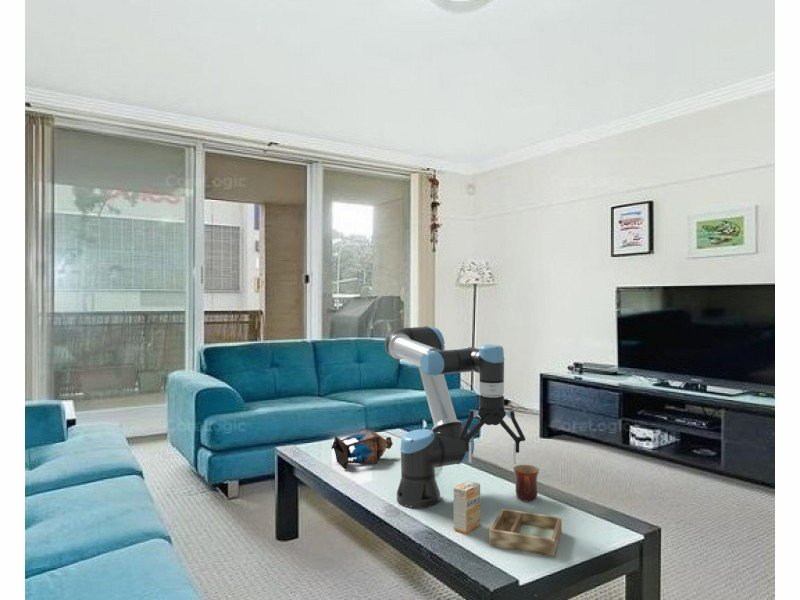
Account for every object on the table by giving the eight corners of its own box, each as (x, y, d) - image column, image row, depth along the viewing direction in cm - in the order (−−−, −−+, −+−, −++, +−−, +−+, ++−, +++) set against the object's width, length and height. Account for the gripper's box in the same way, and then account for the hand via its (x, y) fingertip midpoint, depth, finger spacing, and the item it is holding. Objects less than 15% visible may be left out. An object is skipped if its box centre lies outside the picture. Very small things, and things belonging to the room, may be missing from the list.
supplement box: (466, 534, 160) (466, 491, 160) (453, 530, 163) (452, 487, 163) (481, 525, 166) (481, 483, 166) (468, 520, 170) (467, 479, 169)
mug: (513, 492, 192) (513, 464, 192) (538, 494, 190) (538, 465, 190) (513, 506, 180) (513, 475, 180) (540, 507, 179) (540, 477, 178)
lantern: (339, 481, 224) (393, 468, 235) (347, 459, 214) (402, 446, 225) (327, 448, 234) (379, 437, 245) (334, 426, 224) (388, 415, 235)
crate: (489, 545, 153) (489, 530, 153) (501, 522, 168) (501, 508, 168) (554, 557, 146) (554, 540, 146) (561, 532, 161) (561, 517, 161)
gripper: (451, 396, 165) (451, 465, 166) (534, 398, 163) (534, 467, 163) (451, 391, 173) (452, 457, 173) (530, 392, 170) (530, 459, 171)
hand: (492, 462), depth 168 cm, fingers open, 13 cm apart
